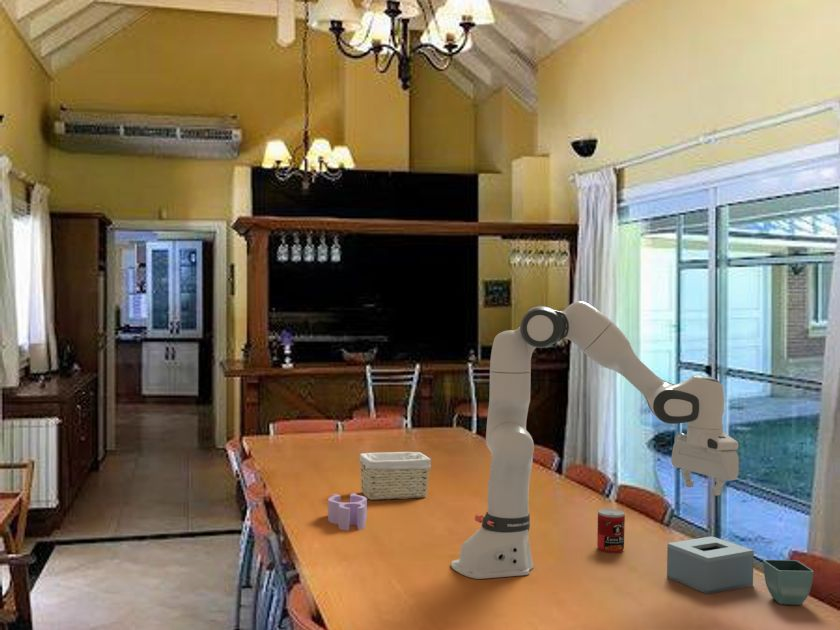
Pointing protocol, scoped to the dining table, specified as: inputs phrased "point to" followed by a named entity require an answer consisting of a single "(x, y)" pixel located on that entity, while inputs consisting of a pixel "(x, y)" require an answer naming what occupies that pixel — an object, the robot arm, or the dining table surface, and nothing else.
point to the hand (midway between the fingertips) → (702, 490)
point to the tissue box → (710, 564)
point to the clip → (348, 511)
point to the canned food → (611, 530)
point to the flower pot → (788, 580)
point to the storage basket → (394, 475)
